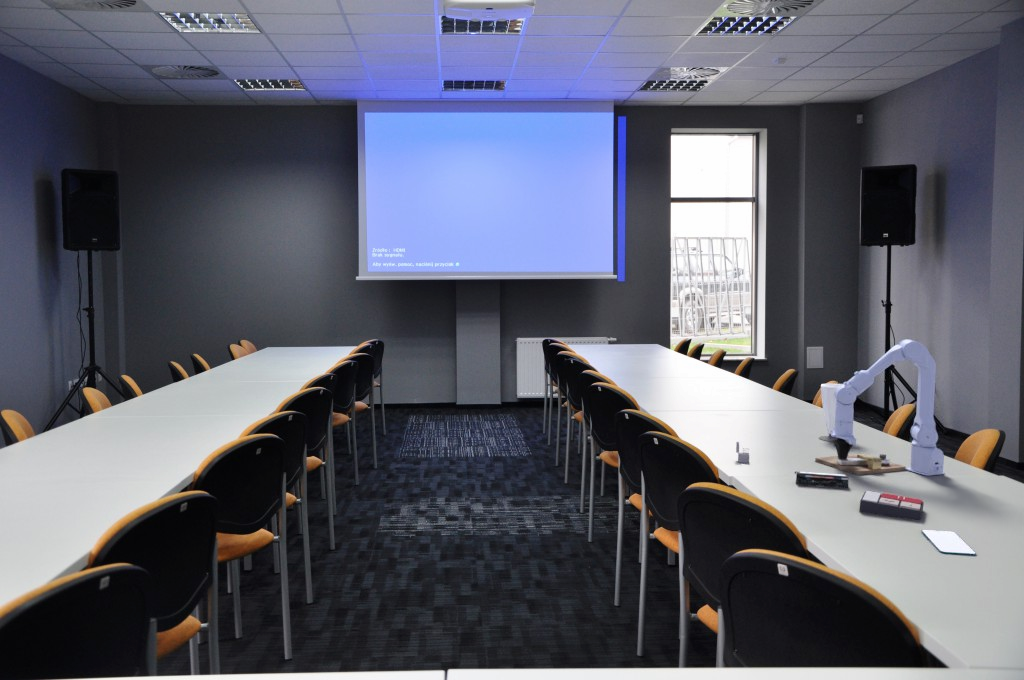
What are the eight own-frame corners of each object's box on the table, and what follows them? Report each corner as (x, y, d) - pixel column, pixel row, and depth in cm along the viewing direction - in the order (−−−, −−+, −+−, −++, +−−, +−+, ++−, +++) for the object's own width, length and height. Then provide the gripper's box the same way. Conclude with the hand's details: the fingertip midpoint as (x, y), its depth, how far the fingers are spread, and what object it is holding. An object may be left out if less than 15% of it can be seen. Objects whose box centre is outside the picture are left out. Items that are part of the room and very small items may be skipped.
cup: (820, 441, 307) (822, 386, 305) (816, 435, 318) (818, 382, 316) (852, 443, 304) (854, 387, 302) (846, 437, 315) (849, 384, 314)
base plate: (905, 470, 262) (906, 457, 261) (857, 475, 255) (858, 461, 255) (860, 457, 280) (861, 444, 280) (815, 461, 274) (815, 448, 274)
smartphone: (977, 558, 182) (954, 534, 197) (977, 554, 182) (954, 531, 197) (940, 555, 183) (919, 532, 199) (940, 551, 183) (920, 529, 199)
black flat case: (785, 479, 252) (785, 466, 251) (870, 485, 244) (870, 472, 244) (787, 491, 238) (787, 477, 238) (877, 498, 231) (877, 484, 230)
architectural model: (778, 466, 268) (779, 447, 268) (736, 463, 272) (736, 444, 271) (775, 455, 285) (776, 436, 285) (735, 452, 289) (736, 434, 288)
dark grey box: (921, 508, 207) (860, 497, 215) (920, 524, 208) (858, 513, 215) (924, 498, 217) (865, 488, 224) (922, 513, 217) (863, 503, 224)
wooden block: (881, 468, 259) (881, 458, 258) (872, 469, 258) (873, 459, 257) (865, 463, 265) (865, 454, 265) (856, 464, 264) (857, 454, 264)
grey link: (885, 461, 267) (885, 457, 267) (892, 465, 263) (892, 460, 262) (836, 462, 266) (836, 458, 266) (842, 465, 262) (842, 461, 262)
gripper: (823, 417, 272) (821, 456, 273) (841, 425, 258) (840, 466, 259) (843, 417, 272) (841, 456, 273) (863, 425, 258) (861, 466, 259)
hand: (842, 461), depth 266 cm, fingers closed
